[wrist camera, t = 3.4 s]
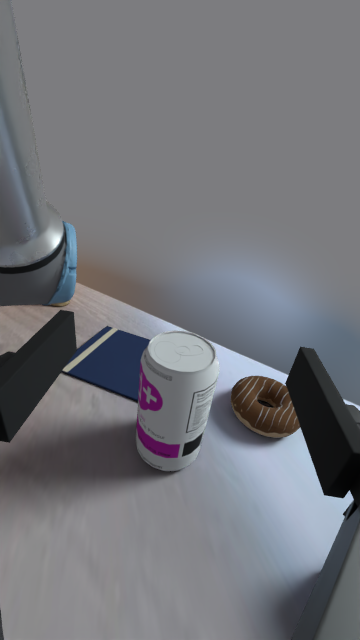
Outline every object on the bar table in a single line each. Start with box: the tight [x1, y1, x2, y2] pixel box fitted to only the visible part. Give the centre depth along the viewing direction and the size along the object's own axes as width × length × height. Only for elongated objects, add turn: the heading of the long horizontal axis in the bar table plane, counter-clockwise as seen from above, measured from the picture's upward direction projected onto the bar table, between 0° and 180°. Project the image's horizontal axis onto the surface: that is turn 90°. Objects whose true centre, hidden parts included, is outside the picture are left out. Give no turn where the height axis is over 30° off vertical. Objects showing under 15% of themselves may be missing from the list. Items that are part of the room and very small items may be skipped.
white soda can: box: [136, 331, 219, 471], centre depth 32 cm, size 8×8×15 cm
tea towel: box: [61, 326, 150, 401], centre depth 48 cm, size 20×15×1 cm
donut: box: [231, 376, 300, 438], centre depth 41 cm, size 11×11×4 cm
